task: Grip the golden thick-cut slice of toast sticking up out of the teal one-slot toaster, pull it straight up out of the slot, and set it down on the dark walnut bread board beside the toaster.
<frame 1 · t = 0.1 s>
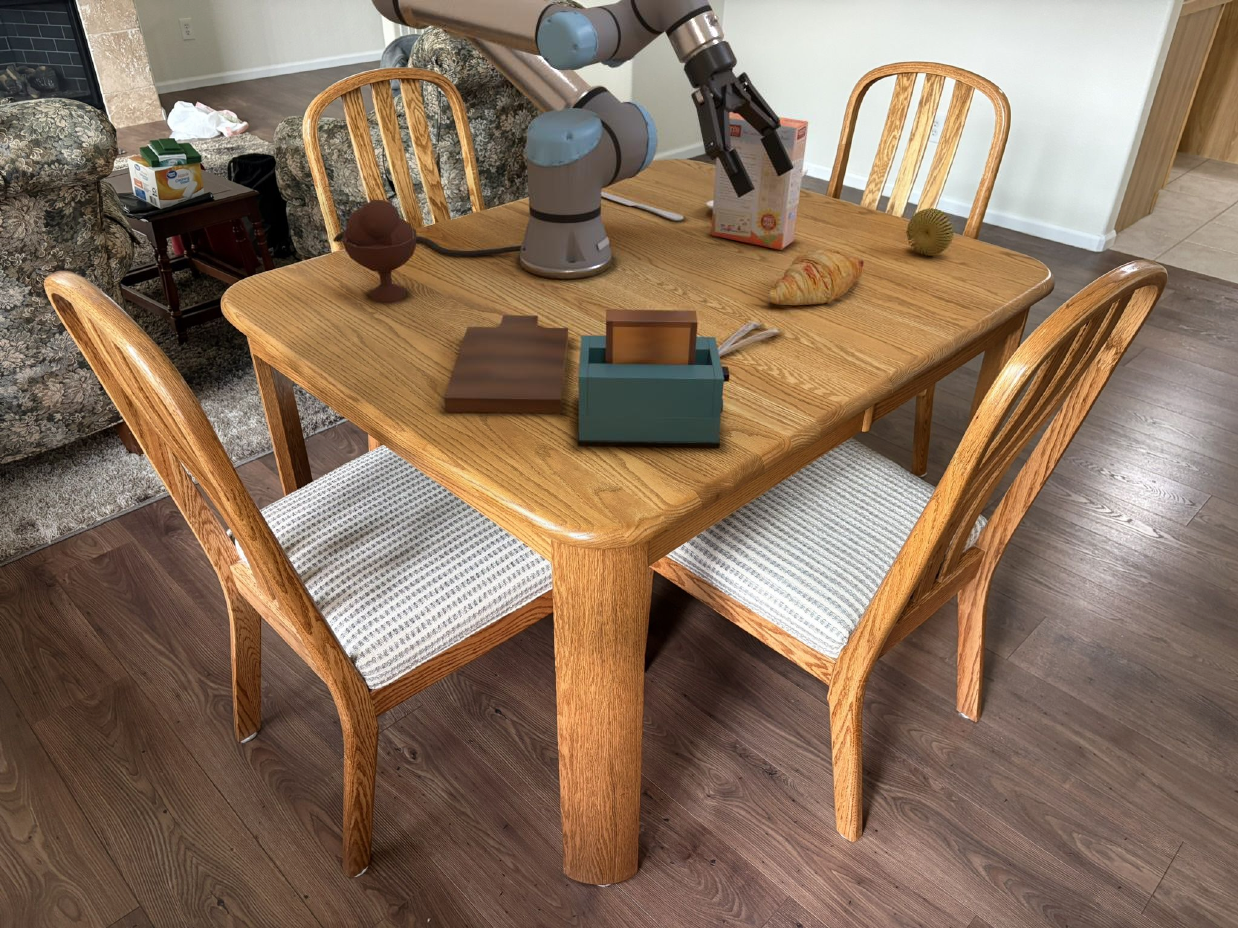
hand: (767, 183, 139), 15 cm above the table, tool tilted 35°, fingers open, 13 cm apart
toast: (648, 394, 106), point 4 cm above the table, touching toaster
spoon: (754, 200, 181), on the table
sea urchin shell: (924, 255, 157), on the table
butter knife: (635, 206, 177), on the table
cracker box: (751, 240, 162), on the table
bread board: (511, 374, 118), on the table
ice cream bowl: (388, 296, 139), on the table
croissant: (813, 293, 142), on the table
toaster: (647, 423, 108), on the table
tweezers: (730, 352, 125), on the table
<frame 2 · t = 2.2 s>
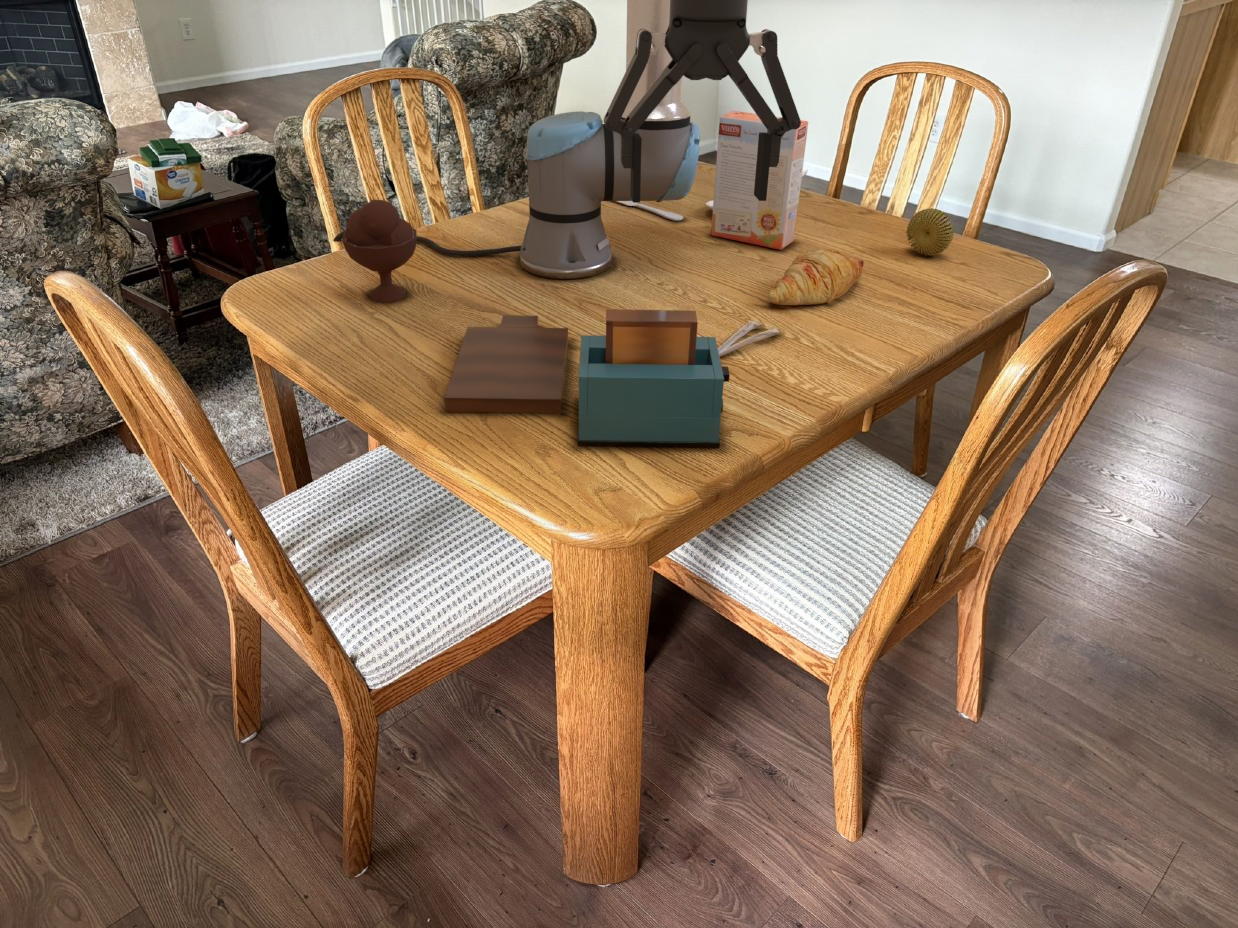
hand: (697, 199, 97), 26 cm above the table, tool pointing down, fingers open, 13 cm apart
nothing on the table moved.
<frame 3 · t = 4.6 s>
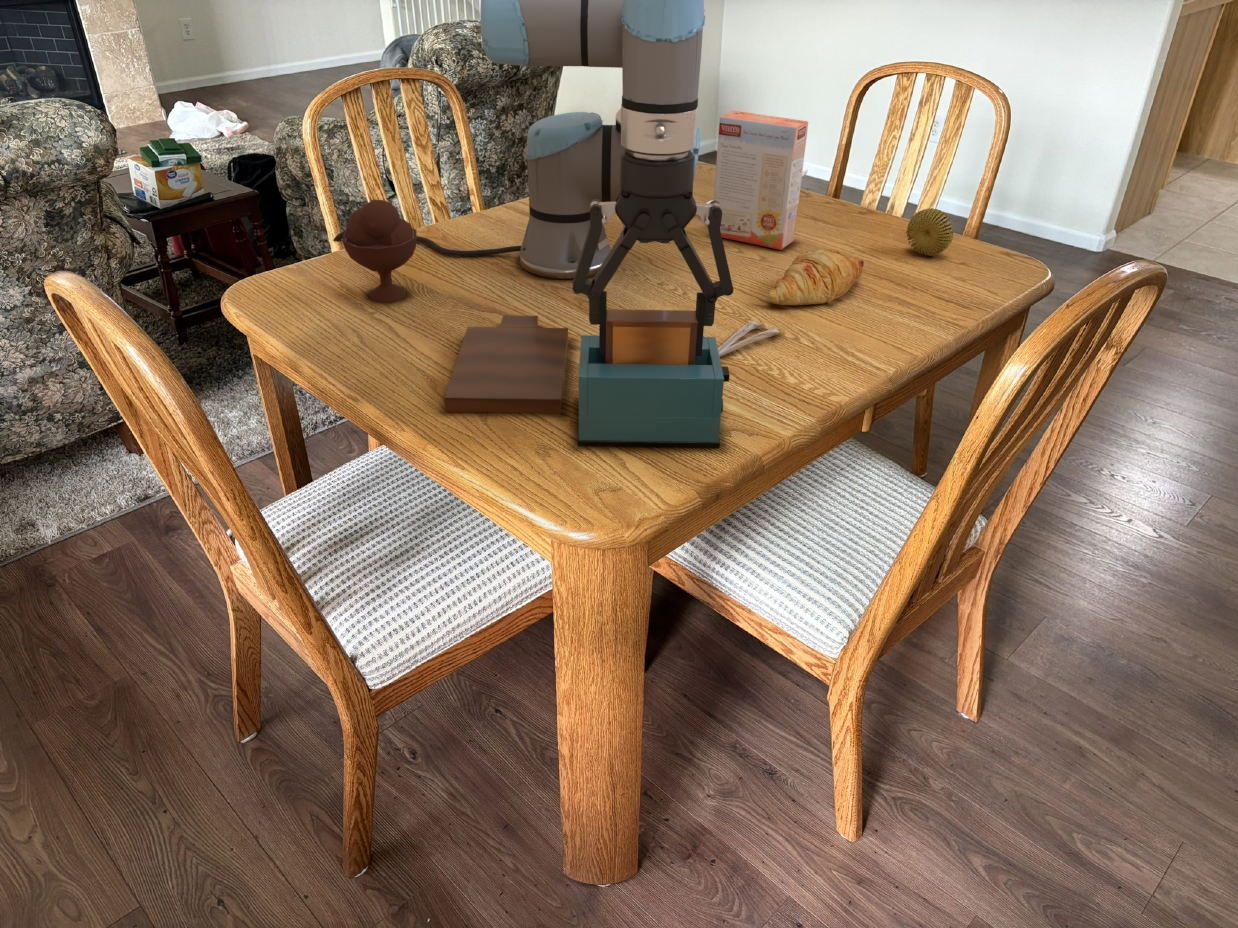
hand: (650, 350, 103), 10 cm above the table, tool pointing down, fingers closed on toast, 10 cm apart
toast: (648, 394, 106), point 4 cm above the table, touching gripper, toaster
everything else where it was.
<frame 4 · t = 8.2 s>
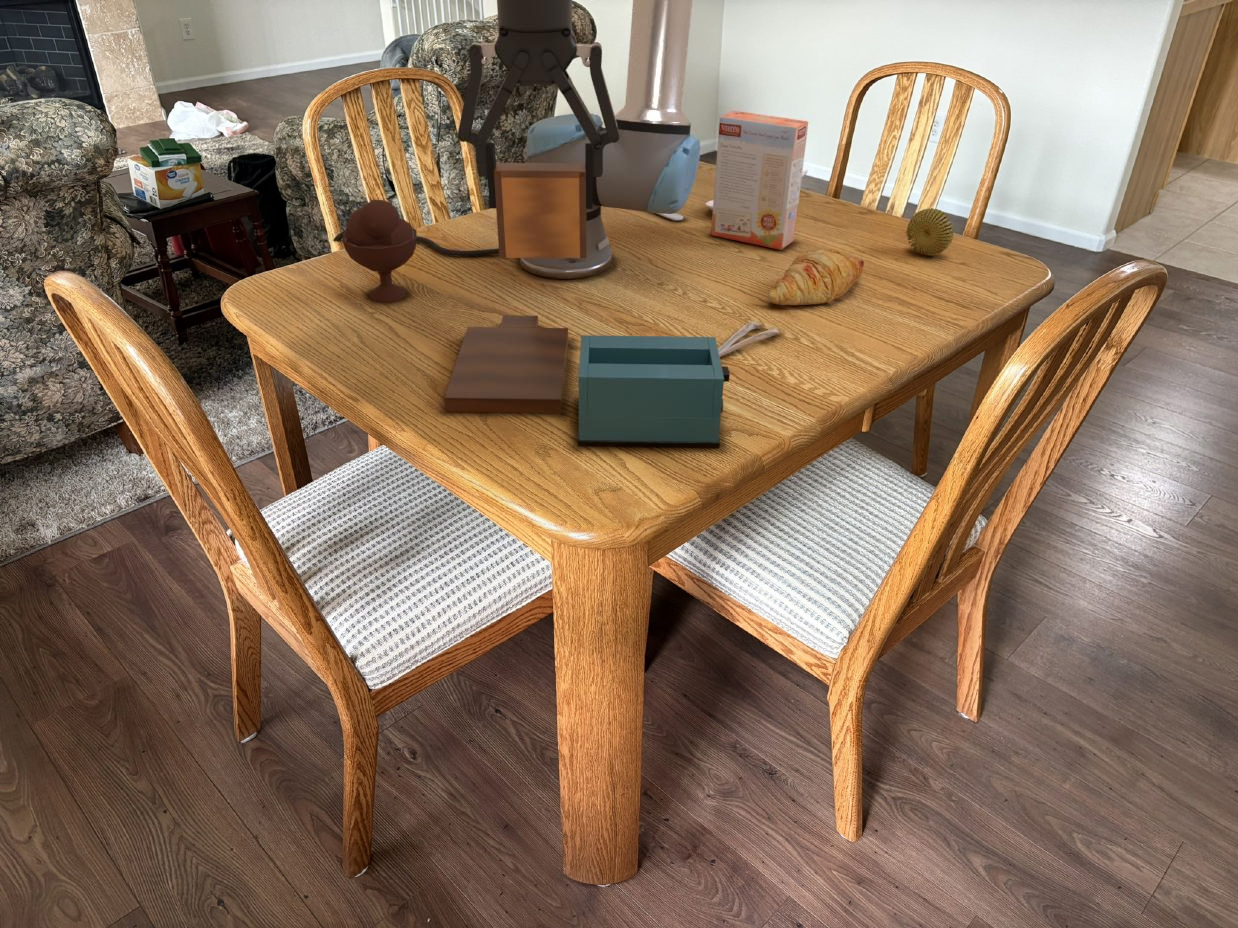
hand: (541, 205, 103), 23 cm above the table, tool pointing down, fingers closed on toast, 10 cm apart
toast: (543, 253, 106), point 18 cm above the table, touching gripper
everything else where it was.
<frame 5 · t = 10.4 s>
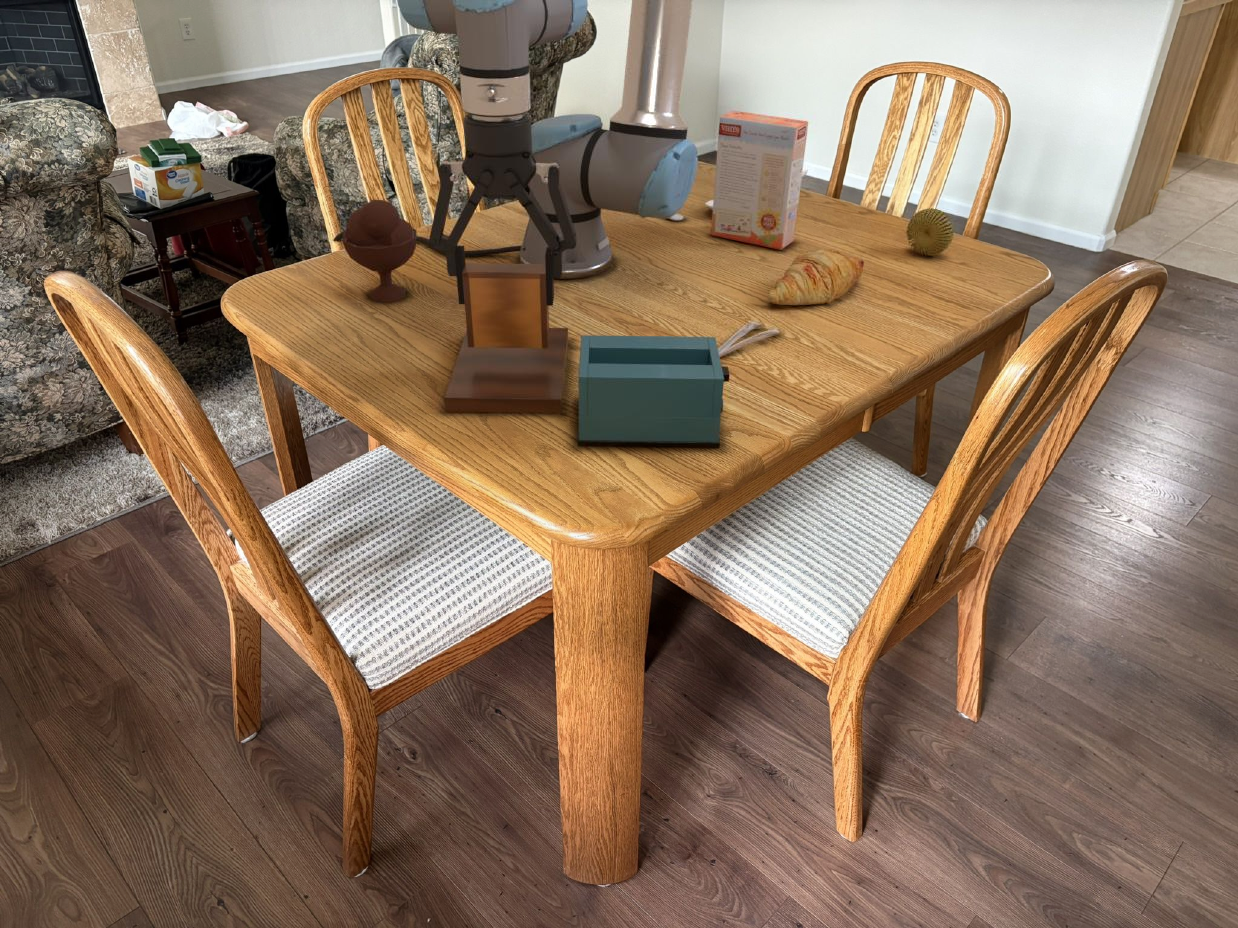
hand: (506, 300, 112), 10 cm above the table, tool pointing down, fingers closed on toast, 10 cm apart
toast: (509, 342, 115), point 5 cm above the table, touching gripper
everything else where it was.
when the fingers open (8 cm above the table, at t = 11.7 s): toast stays where it is, resting on bread board.
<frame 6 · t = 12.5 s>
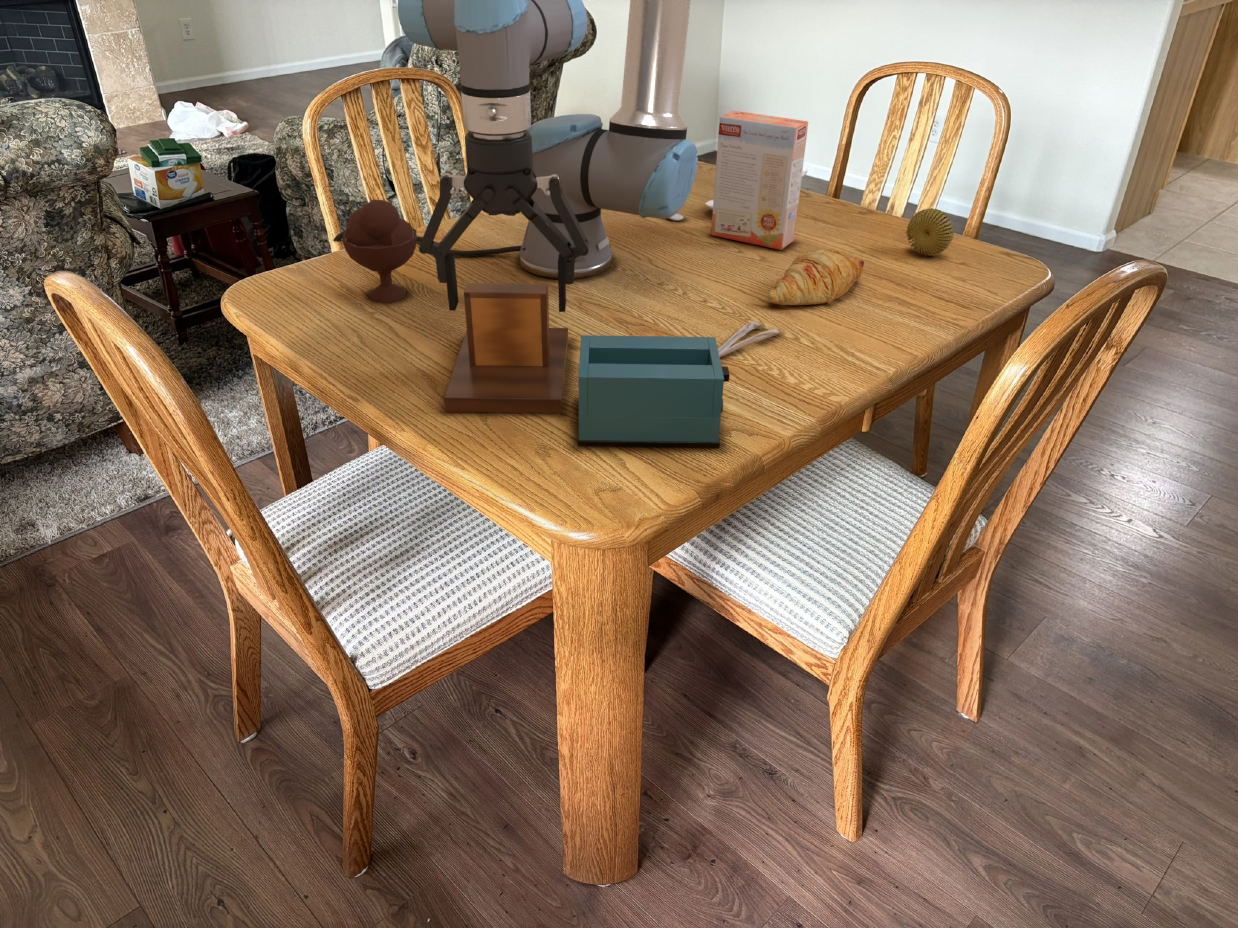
hand: (508, 307, 113), 9 cm above the table, tool pointing down, fingers open, 13 cm apart
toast: (510, 360, 117), point 2 cm above the table, touching bread board
everything else where it was.
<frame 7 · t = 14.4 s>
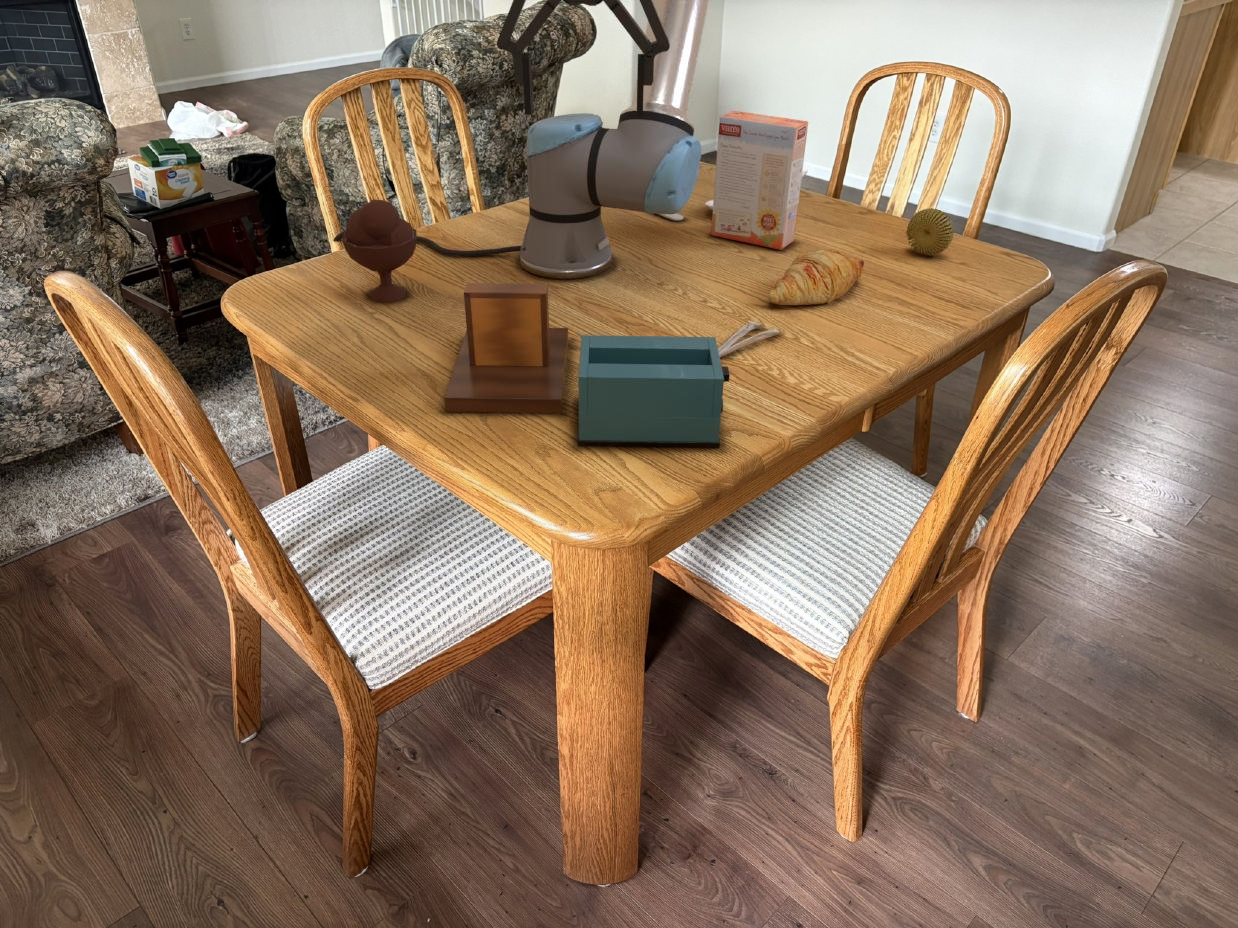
hand: (584, 113, 111), 30 cm above the table, tool pointing down, fingers open, 13 cm apart
nothing on the table moved.
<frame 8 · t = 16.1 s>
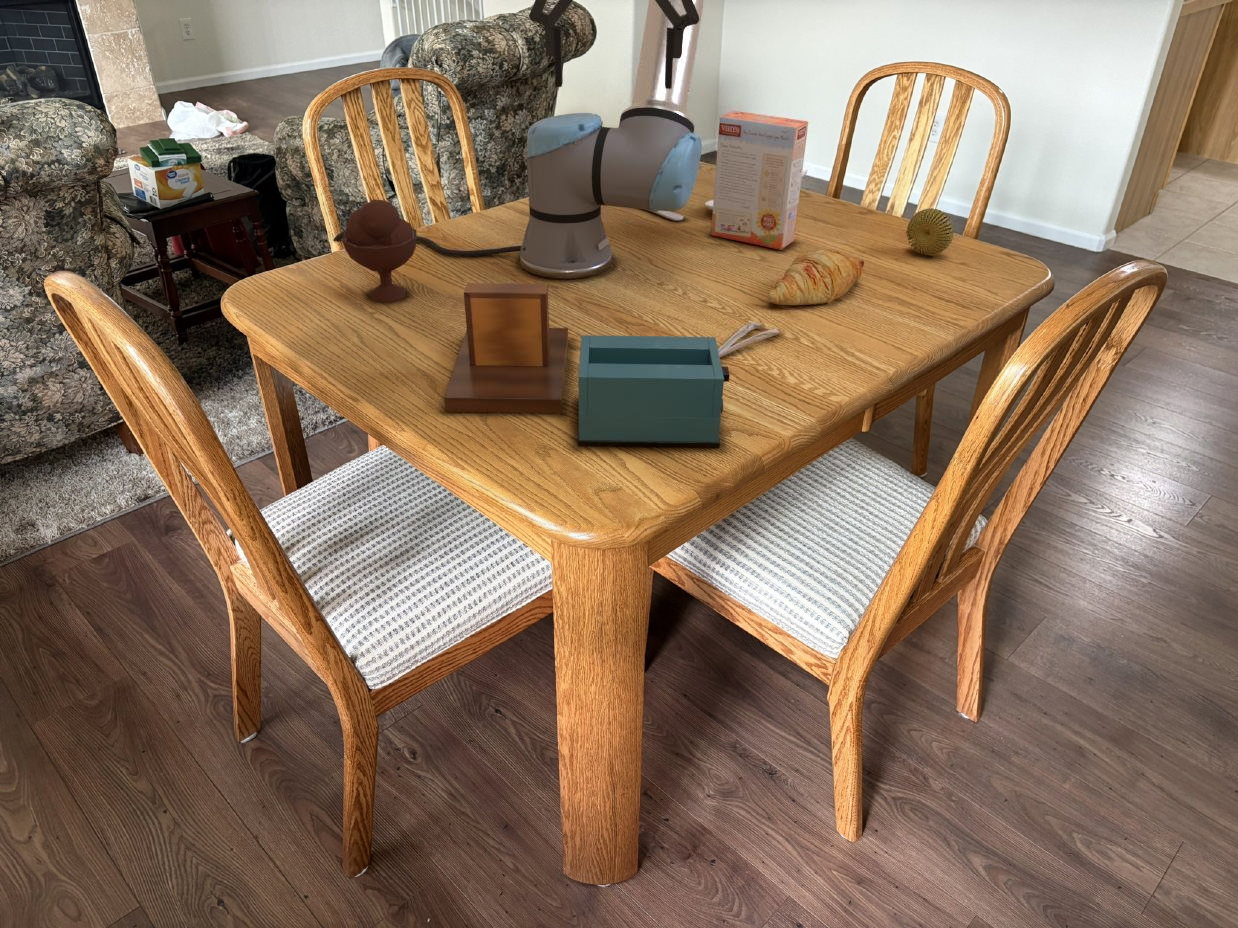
hand: (613, 86, 113), 33 cm above the table, tool pointing down, fingers open, 13 cm apart
nothing on the table moved.
at the end: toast inside the target area on the bread board (0.1 cm from its centre), point 2.0 cm above the bread board's base; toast touching bread board; the gripper is holding nothing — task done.
